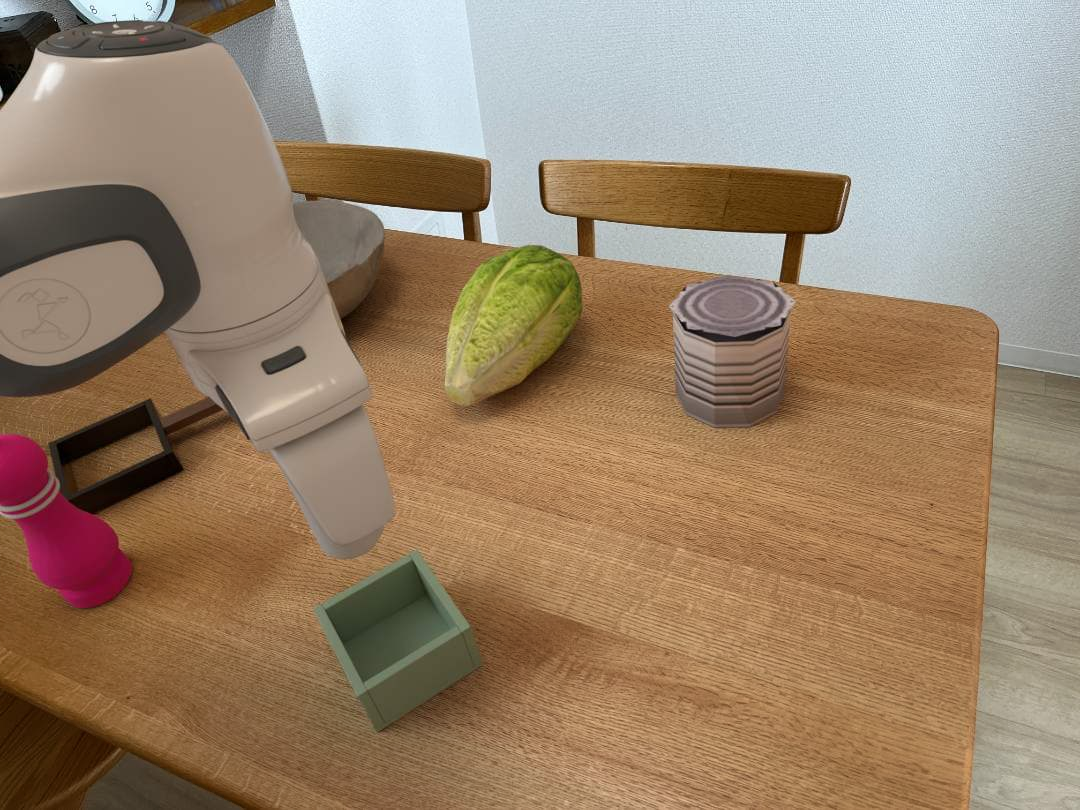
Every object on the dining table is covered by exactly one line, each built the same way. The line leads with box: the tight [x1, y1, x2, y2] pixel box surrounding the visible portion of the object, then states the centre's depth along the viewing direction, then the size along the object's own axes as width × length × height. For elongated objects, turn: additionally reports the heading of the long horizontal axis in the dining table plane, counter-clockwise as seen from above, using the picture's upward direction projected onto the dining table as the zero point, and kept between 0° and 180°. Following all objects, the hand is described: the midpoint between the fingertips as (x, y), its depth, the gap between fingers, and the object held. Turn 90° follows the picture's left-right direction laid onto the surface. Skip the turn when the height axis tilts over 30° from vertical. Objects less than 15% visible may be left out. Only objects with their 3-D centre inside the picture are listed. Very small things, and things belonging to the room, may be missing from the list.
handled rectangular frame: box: [48, 396, 225, 515], centre depth 91 cm, size 20×12×3 cm, turn 123°
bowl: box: [293, 199, 386, 320], centre depth 107 cm, size 28×28×10 cm
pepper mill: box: [0, 433, 133, 609], centre depth 71 cm, size 7×7×20 cm
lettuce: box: [444, 244, 583, 408], centre depth 91 cm, size 13×22×14 cm
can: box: [668, 274, 796, 429], centre depth 82 cm, size 11×11×12 cm
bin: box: [312, 548, 484, 733], centre depth 65 cm, size 10×10×6 cm
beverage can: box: [278, 466, 385, 561], centre depth 53 cm, size 5×5×12 cm
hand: (332, 494), depth 54 cm, fingers closed on beverage can, 5 cm apart
